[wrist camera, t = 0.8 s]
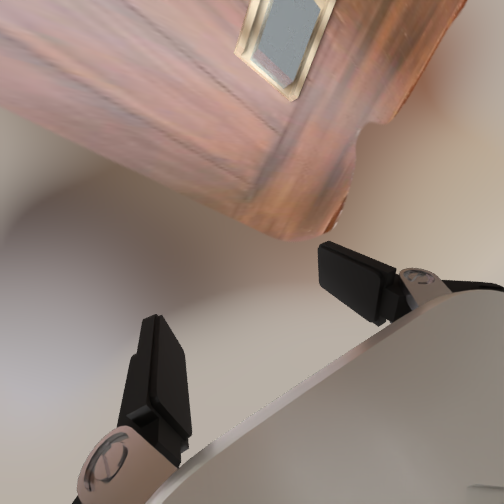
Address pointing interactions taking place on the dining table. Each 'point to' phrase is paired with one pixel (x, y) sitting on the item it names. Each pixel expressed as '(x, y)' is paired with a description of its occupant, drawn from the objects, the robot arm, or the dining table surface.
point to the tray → (250, 34)
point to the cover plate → (284, 38)
